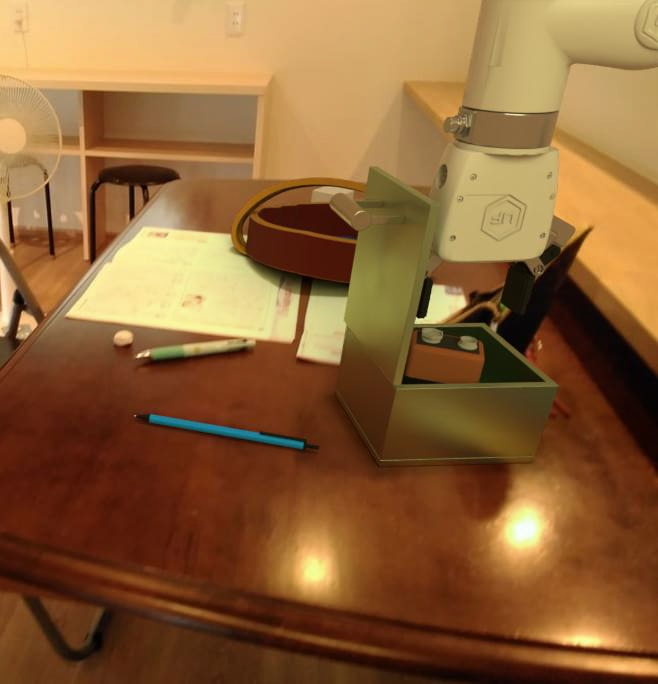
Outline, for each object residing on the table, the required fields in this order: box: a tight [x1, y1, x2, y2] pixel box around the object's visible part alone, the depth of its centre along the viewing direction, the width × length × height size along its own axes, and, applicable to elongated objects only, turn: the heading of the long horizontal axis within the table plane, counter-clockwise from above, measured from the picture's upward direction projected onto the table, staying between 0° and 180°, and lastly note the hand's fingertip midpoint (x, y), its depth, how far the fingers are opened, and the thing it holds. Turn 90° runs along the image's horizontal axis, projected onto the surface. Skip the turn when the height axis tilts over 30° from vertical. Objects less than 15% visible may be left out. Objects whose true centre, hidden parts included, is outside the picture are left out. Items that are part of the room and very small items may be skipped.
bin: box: [334, 322, 560, 468], centre depth 71 cm, size 16×14×9 cm
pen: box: [133, 413, 320, 451], centre depth 70 cm, size 1×19×1 cm, turn 74°
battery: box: [401, 328, 485, 385], centre depth 70 cm, size 4×7×10 cm, turn 69°
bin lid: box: [330, 165, 440, 384], centre depth 64 cm, size 17×14×6 cm
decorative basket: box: [230, 176, 434, 284], centre depth 112 cm, size 34×29×15 cm
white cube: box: [310, 186, 355, 202], centre depth 138 cm, size 6×6×6 cm
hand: (463, 311), depth 67 cm, fingers open, 9 cm apart
